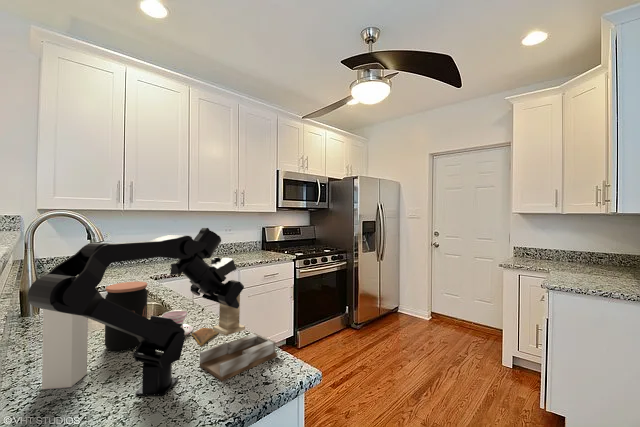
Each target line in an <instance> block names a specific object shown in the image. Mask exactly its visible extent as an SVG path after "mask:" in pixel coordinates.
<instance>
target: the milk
mask: <svg viewBox="0 0 640 427" xmlns="http://www.w3.org/2000/svg"><path fill="white" fill-rule="evenodd" d="M42 312H43V313H42V364H41V365H42V368H41V370H42V371H41V378H42V379H41V388H42V389H41V390H51V389H64V388H72V387H73V386H75V385H76V384H77V383H78V382H79V381H81V379H82V378H84V377H85V376H86V375H87V374H88V336H89V329H88V328H89V324H88V323H89V318H86V317H84V316H80V315H74V314H68V313H62V312H57V311H51V310H46V309H42Z"/></svg>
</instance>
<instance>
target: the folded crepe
mask: <svg viewBox="0 0 640 427" xmlns="http://www.w3.org/2000/svg"><path fill="white" fill-rule="evenodd" d="M217 334H219V333H218V332H216V331H214V330H213V327H212V328H210V327H201V328H199V329H197V330H196V331H194V332H191V336H192V337H193V338H194V339H195V341H196V343H197V344H198V345H199V346H201V347H202V346H203V345H205V343H207V342H208V341H209V340H210V339H211V338H213V337H215V336H216V335H217ZM214 335H215V336H214Z"/></svg>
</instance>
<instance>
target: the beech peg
mask: <svg viewBox="0 0 640 427" xmlns="http://www.w3.org/2000/svg"><path fill="white" fill-rule="evenodd" d="M237 301H238V303H239V307H238V308H233V307H230V306H227V305H224V304H220V303H219V308H218V309H219V311H218V312H219V313H218V314H219V315H218V316H219V317H218V318H219V320H218V325H214V326H212V329H213V330H214V331H216V332H218V334H220V335H222V336H225V337H226V336H229V335H232V334H233V335H234V334H235V333H238V332H243V331H246V325H243V324H241V323H240V315H241V314H240V313H241V311H240V310H241V308H240V307H241V303H240V302H241V293H240V294H239V295H238V297H237Z"/></svg>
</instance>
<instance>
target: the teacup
mask: <svg viewBox="0 0 640 427" xmlns="http://www.w3.org/2000/svg"><path fill="white" fill-rule="evenodd" d="M187 316H188V311H186V310H183V309H181V310H180V309H176V310H175V309H174V310H169V311H166V312H164V313H162V315H161V317H164V318H170V319H172V320H173V321H174V322H176V323H180V324H182V326H181V327H182V328H183V329H184V330H185V333H184V334H185V336H187V335H189V334H192V333H193V331H194V327H193V325H190V324H186V323H184V321H185V319H186V317H187ZM184 327H186V328H184ZM187 327H188V329H187Z"/></svg>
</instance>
